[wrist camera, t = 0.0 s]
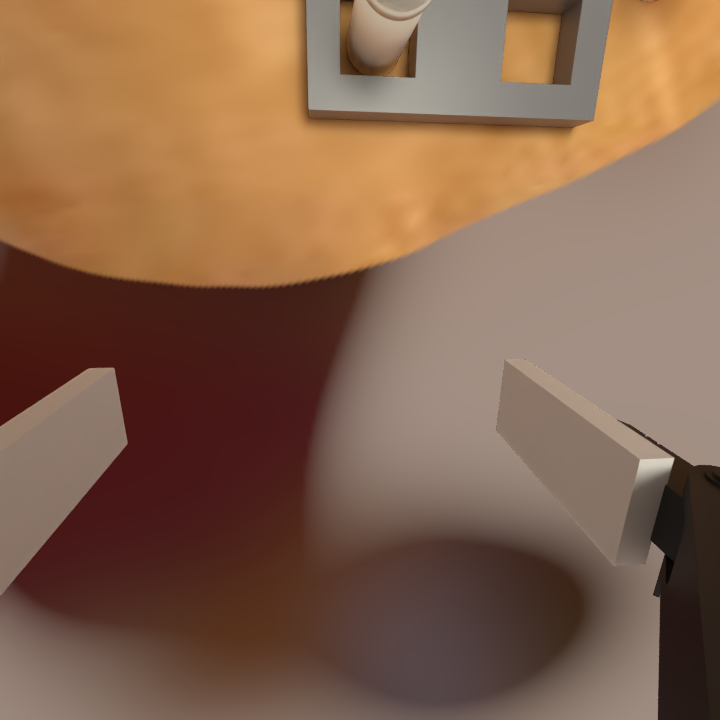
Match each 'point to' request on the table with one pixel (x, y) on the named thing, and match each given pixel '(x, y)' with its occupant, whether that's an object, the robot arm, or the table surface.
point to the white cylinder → (381, 33)
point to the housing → (463, 67)
